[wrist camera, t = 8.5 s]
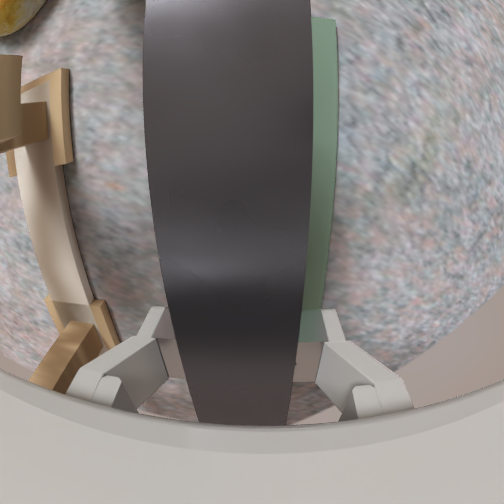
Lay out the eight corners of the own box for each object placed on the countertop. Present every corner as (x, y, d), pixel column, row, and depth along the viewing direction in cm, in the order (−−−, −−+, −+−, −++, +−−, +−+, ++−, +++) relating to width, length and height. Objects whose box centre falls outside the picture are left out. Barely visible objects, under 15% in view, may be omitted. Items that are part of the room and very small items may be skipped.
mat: (333, 22, 10) (335, 19, 10) (307, 376, 21) (308, 379, 21) (176, 24, 11) (174, 22, 10) (207, 374, 21) (206, 377, 21)
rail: (291, 6, 6) (305, -44, 3) (274, 439, 14) (274, 481, 12) (185, 11, 6) (149, -32, 3) (224, 437, 14) (220, 479, 12)
